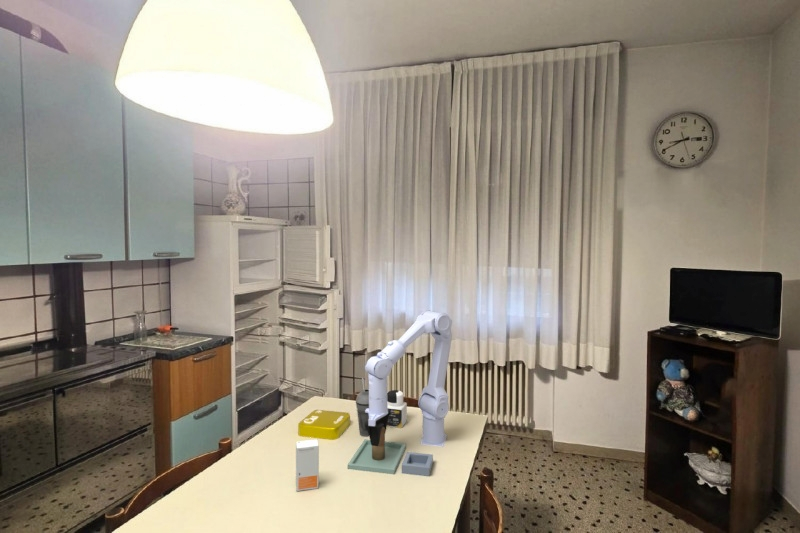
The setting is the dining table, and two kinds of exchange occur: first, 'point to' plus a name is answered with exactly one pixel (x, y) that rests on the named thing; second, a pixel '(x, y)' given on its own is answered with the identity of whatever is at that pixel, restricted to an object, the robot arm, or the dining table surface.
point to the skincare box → (307, 465)
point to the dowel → (379, 447)
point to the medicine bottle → (396, 409)
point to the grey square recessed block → (417, 464)
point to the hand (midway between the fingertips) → (378, 439)
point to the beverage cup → (362, 410)
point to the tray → (366, 463)
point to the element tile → (324, 424)
